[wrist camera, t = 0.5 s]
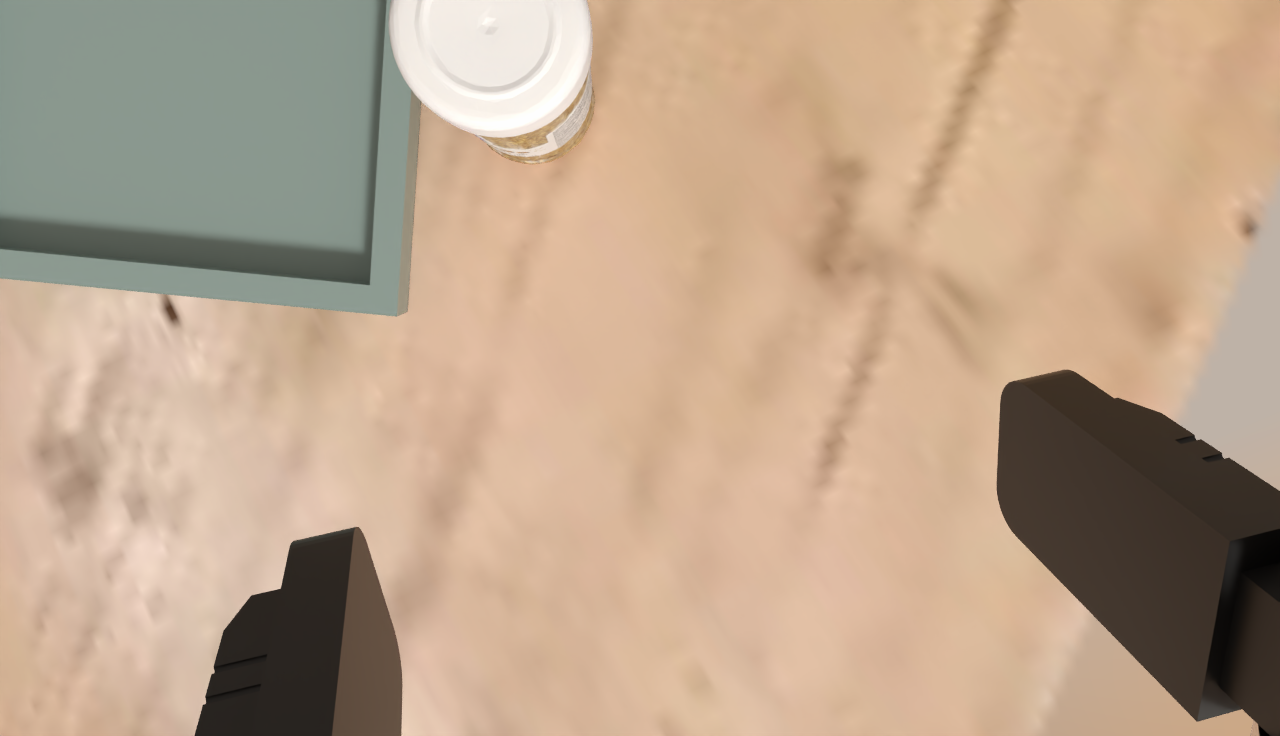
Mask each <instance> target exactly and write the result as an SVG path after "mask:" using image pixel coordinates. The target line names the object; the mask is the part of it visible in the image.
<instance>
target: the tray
mask: <svg viewBox="0 0 1280 736" xmlns="http://www.w3.org/2000/svg"><path fill="white" fill-rule="evenodd" d="M390 3H391V0H0V278H2V279H13V280H23V281H34V282H44V283H54V284H65V285H75V286H86V287H96V288H106V289H117V290H127V291H137V292H148V293H158V294H169V295H179V296H189V297H200V298H210V299H221V300H231V301H241V302H252V303H262V304H273V305H283V306H293V307H304V308H314V309H325V310H335V311H345V312H356V313H366V314H377V315H387V316H399V315H401V314H404V313H406V312H407V311H408V296H409V281H410V266H411V250H412V235H413V220H414V204H415V189H416V174H417V158H418V143H419V128H420V113H421V100H420V99H419V98H418V97H417V96H416V95H415V94H414V92H413V91H412V90H411V89H410V87H409V86H408V84H407V83H406V81H405V80H404V78H403V76H402V74H401V72H400V70H399V68H398V66H397V63H396V61H395V58H394V55H393V51H392V47H391V42H390V36H389V11H390Z"/></svg>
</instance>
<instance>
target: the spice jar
mask: <svg viewBox="0 0 1280 736" xmlns="http://www.w3.org/2000/svg"><path fill="white" fill-rule="evenodd" d="M389 36H390V42H391V47H392V51H393V55H394V58H395V61H396V63H397V66H398V68H399V70H400V72H401V74H402V76H403V78H404V80H405V81H406V83H407V84H408V86H409V87H410V89H411V90H412V91H413V92H414V94H415V95H416V96H417V97H418V98H419V99H420V100H421V101H422V103H424V104H425V105H426V106H427V107H428V108H429V109H430V110H432V111H433V112H434V113H435V114H437V115H438V116H439V117H441V118H442V119H444V120H445V121H447V122H449V123H450V124H452V125H454V126H456V127H458V128H460V129H462V130H464V131H467V132H470V133H473V134H475V135H476V136H477V137H479V138H480V139H482V140H483V141H484V142H485V143H487V145H488V146H489V147H490V148H491V149H492V150H494V151H495V152H497V153H498V154H500V155H501V156H503V157H505V158H507V159H510V160H513V161H516V162H520V163H525V164H540V163H546V162H550V161H553V160H555V159H558V158H560V157H562V156H564V155H565V154H567V153H568V152H569V151H571V150H572V149H573V148H574V147H575V146H577V145H578V144H579V143H580V142H581V140H582V139H583V137H584V135H585V133H586V131H587V130H588V128H589V126H590V123H591V121H592V117H593V114H594V104H595V96H594V91H593V88H592V79H591V66H590V62H591V56H592V42H593V37H592V23H591V17H590V11H589V7H588V3H587V0H391V3H390V11H389Z"/></svg>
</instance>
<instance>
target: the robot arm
mask: <svg viewBox="0 0 1280 736" xmlns="http://www.w3.org/2000/svg"><path fill="white" fill-rule="evenodd" d="M997 496H998V501H999V505H1000V508H1001V511H1002V514H1003V516H1004V518H1005V521H1006V522H1007V524H1008V526H1009V528H1010V529H1011V531H1012V532H1013V533H1014V534H1015V535H1016V537H1017V538H1018V539H1019V540H1020V541H1021V542H1022V543H1023V544H1024V545H1025V546H1026V547H1027V548H1028V549H1029V550H1030V551H1031V552H1032V553H1033V554H1034V555H1035V556H1036V557H1037V558H1038V559H1039V560H1040V561H1041V562H1042V563H1043V564H1044V565H1045V566H1046V567H1047V568H1048V569H1049V570H1050V571H1051V572H1052V573H1053V575H1054V576H1055V577H1056V578H1057V579H1058V580H1059V581H1060V582H1061V583H1062V584H1063V585H1064V586H1065V587H1066V588H1067V589H1068V590H1069V591H1070V592H1071V593H1072V594H1073V595H1074V596H1075V597H1076V598H1077V599H1078V600H1079V601H1080V602H1081V603H1082V604H1083V605H1084V606H1085V607H1086V608H1087V609H1088V610H1089V611H1090V612H1091V613H1092V614H1093V616H1094V617H1095V618H1096V619H1097V620H1098V621H1099V622H1100V623H1101V624H1102V625H1103V626H1104V627H1105V628H1106V629H1107V630H1108V631H1109V632H1110V633H1111V634H1112V635H1113V636H1114V637H1115V638H1116V639H1117V640H1118V641H1119V642H1120V643H1121V644H1122V645H1123V646H1124V647H1125V648H1126V649H1127V650H1128V651H1129V652H1130V653H1131V654H1132V655H1133V656H1134V657H1135V659H1136V660H1137V661H1138V662H1139V663H1140V664H1141V665H1142V666H1143V667H1144V668H1145V669H1146V670H1147V671H1148V672H1149V673H1150V674H1151V675H1152V676H1153V677H1154V678H1155V679H1156V680H1157V681H1158V682H1159V683H1160V684H1161V685H1162V686H1163V687H1164V688H1165V689H1166V690H1167V691H1168V692H1169V693H1170V694H1171V695H1172V696H1173V698H1174V699H1176V700H1177V702H1178V703H1179V704H1180V705H1181V706H1182V707H1183V708H1184V709H1185V710H1186V711H1187V712H1188V713H1189V714H1190V715H1191V716H1192V717H1193V718H1194V719H1195V720H1196V721H1201V720H1205V719H1208V718H1212V717H1215V716H1219V715H1222V714H1226V713H1230V712H1233V711H1237V710H1240V709H1243V710H1244V711H1245V712H1246V713H1247V714H1248V715H1249V716H1250V717H1251V718H1252V719H1253V720H1254V721H1253V726H1252V730H1251V736H1280V491H1278V490H1277V489H1276V488H1274V487H1273V486H1271V485H1270V484H1268V483H1267V482H1265V481H1264V480H1262V479H1260V478H1259V477H1257V476H1256V475H1254V474H1253V473H1251V472H1250V471H1248V470H1247V469H1245V468H1244V467H1242V466H1241V465H1239V464H1238V463H1236V462H1235V461H1233V460H1231V459H1230V458H1226V459H1224V458H1223V457H1222V453H1221V452H1220V451H1218V450H1216V449H1215V448H1213V447H1212V446H1210V445H1209V444H1207V443H1206V442H1204V441H1203V440H1196V439H1195V436H1194V434H1192V433H1191V432H1189V431H1188V430H1186V429H1185V428H1183V427H1182V426H1180V425H1179V424H1177V423H1176V422H1174V421H1173V420H1171V419H1169V418H1168V417H1166V416H1165V415H1163V414H1162V413H1159V412H1157V411H1154V410H1151V409H1148V408H1145V407H1142V406H1140V405H1137V404H1134V403H1131V402H1128V401H1125V400H1123V399H1120V398H1115V399H1114V398H1113V397H1111V396H1110V395H1108V394H1107V393H1105V392H1104V391H1102V390H1101V389H1099V388H1098V387H1097V386H1095V385H1094V384H1092V383H1091V382H1089V381H1088V380H1086V379H1085V378H1083V377H1082V376H1080V375H1079V374H1077V373H1076V372H1074V371H1071V370H1061V371H1057V372H1052V373H1048V374H1044V375H1039V376H1035V377H1030V378H1026V379H1021V380H1017V381H1013V382H1010V383H1008V384H1007V385H1006V386H1005V388H1004V390H1003V392H1002V395H1001V402H1000V422H999V445H998V467H997ZM214 670H215V673H214V674H212V675H211V678H210V682H209V686H208V689H207V693H206V696H205V698H206V704H205V705H203V707H202V711H201V714H200V718H199V722H198V725H197V729H196V732H195V736H401V722H402V669H401V661H400V654H399V648H398V643H397V639H396V635H395V631H394V627H393V624H392V621H391V618H390V615H389V612H388V608H387V605H386V602H385V599H384V596H383V593H382V589H381V586H380V583H379V580H378V577H377V574H376V570H375V567H374V564H373V561H372V558H371V555H370V551H369V548H368V545H367V542H366V539H365V537H364V535H363V533H362V531H361V529H360V528H359V527H354V528H350V529H345V530H341V531H336V532H332V533H327V534H323V535H318V536H314V537H309V538H305V539H301V540H296V541H293V542H292V543H291V545H290V548H289V553H288V558H287V562H286V567H285V572H284V577H283V582H282V586H281V589H278V590H274V591H269V592H265V593H261V594H256V595H252V596H251V597H250V598H249V599H248V601H247V602H246V603H245V604H244V606H243V607H242V608H241V609H240V611H239V612H238V613H237V615H236V616H235V617H234V618H233V620H232V621H231V622H230V623H229V625H228V626H227V627H226V629H225V630H224V631H223V635H222V639H221V642H220V646H219V649H218V653H217V657H216V660H215V664H214Z"/></svg>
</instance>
